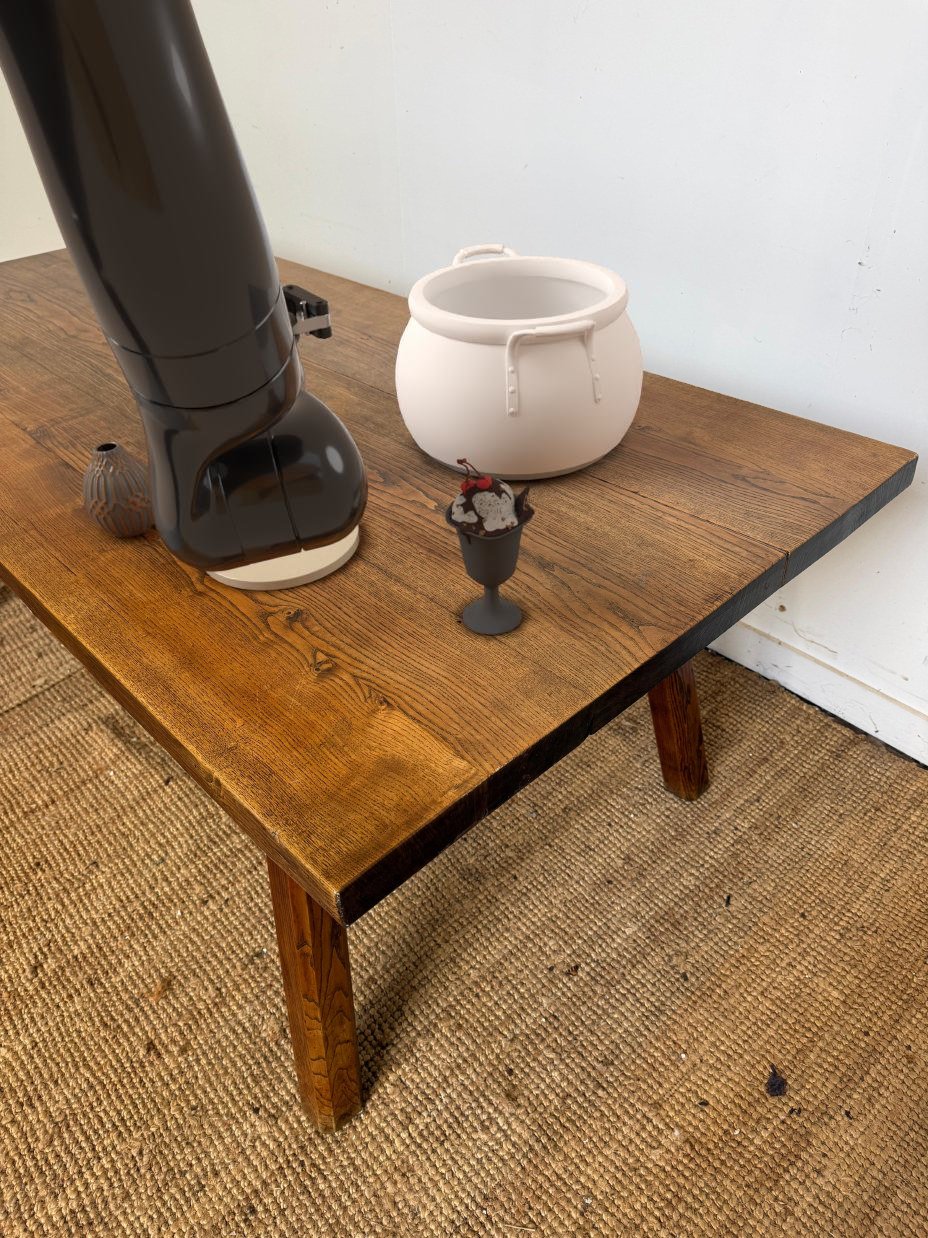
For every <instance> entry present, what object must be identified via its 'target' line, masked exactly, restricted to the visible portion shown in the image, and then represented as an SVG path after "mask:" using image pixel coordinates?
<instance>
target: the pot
mask: <svg viewBox="0 0 928 1238" xmlns="http://www.w3.org/2000/svg"><path fill="white" fill-rule="evenodd" d="M487 254H489V255H490V254H496V255H502V254H505V255H507V256H499V257H490V258H482V259H476V260H475V259H474V260H469V261H465V262H463V261H464V260H465V259H468V258H471V257H474V256H479V255H487ZM629 296H630V292H629V289H628V286H627V284H626V281H625V280H624V278H622V276H621V275H619V273H616V272H615V271H613V270H611V269H609V268H608V267H604V266H601V265H599V264H597V263H592V262H588V261H585V260H578V259H573V258H566V257H557V256H556V257H555V256H543V255H542V256H541V255H539V256H536V255H521V254H520V253H518V252H517V251H516V250H515V249H514V248H511V247H507V246H505V244H503V243H487V244H478V245H470V246H468V247H464V248H461V249H459V250H458V253H457V254H455V256H454V258H453V262H452V264H451V265H449V266H446V267H443V268H440V269H436V270H435V271H432V272H430V273H427V274H426V275H425V276H423V277H421V278H420V279H419V280H417V281H416V282H415V284H413V286H412V287H411V289H410V292H409V295H408V299H407V302H408V303H407V304H408V309H409V313H410V315H411V316H410V318H409V320H408V323H407V325H406V327H405V329H404V331H403V332H402V335H401V337H400V340H399V345H398V349H397V354H396V355H397V356H396V361H395V374H394V375H395V378H394V380H395V381H394V382H395V389H396V397H397V402H398V408H399V411H400V414H401V416H402V419H403V421H404V424H405V427H406V429H407V430H408V432H409V434H410V435H411V436H412V439H413V440H414V442H416V444H417V445H418V447H419V448H420V449H421V450H422V451H424V452H425V453H426V454H427V455H429V456H430V457H431V458H432V459H433V460H435V461H436V462H437V463H439V464H440V465H442V466H445V467H446V468H449V469H451V470H452V471H455V472H458V473H462V474H466V475H467V469H466V467H464V466H463V465H460V464H458V463H457V459H464V458H466V462H468V463H470V464H471V465H472V466H473V467H474V468H475V469H476V470H477V471H478V472H479V473H480V474H481V476H488V477H490V478H494V479H498V480H500V481H502V480H504V481H530V480H539V479H547V478H553V477H558V476H562V475H568V474H571V473H574V472H577V471H579V470H582V469H585V468H586V467H589V466H591V465H593V464H595V463H596V462H599V461H600V460H601V459H602V458H603V457H605V456H606V455H607V454H608V453H610V452H611V451H612V450H613V449H614V448H615V447H617V446H618V445H619V444H620V442H621V441H622V439H623V438H624V436H625V435H626V433H627V432H628V430H629V428H630V427H631V425H632V423H633V421H634V418H635V416H636V414H637V410H638V407H639V404H640V400H641V396H642V395H641V394H642V388H643V379H644V363H643V362H644V361H643V359H644V358H643V353H642V348H641V343H640V338H639V335H638V332H637V329H636V328H635V325H634V324H633V322H632V320H631V318H630V316H629V314H628V312H627V310H626V309H627V307H628V303H629ZM463 464H464V465H466V466H467V467H468V469H469V473H470V475H469V476H473V477H478V478H480V477H479V475H478V474H477V473H476V472H475V471H474V470H473V469H472V467H471V466H469V465H468V464H466V463H463Z"/></svg>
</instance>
